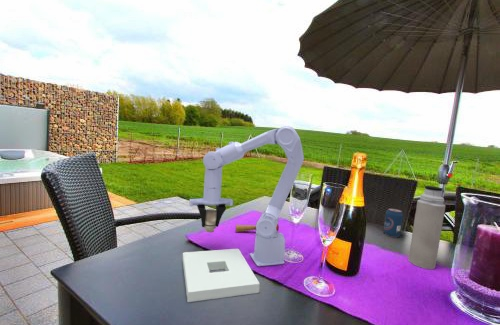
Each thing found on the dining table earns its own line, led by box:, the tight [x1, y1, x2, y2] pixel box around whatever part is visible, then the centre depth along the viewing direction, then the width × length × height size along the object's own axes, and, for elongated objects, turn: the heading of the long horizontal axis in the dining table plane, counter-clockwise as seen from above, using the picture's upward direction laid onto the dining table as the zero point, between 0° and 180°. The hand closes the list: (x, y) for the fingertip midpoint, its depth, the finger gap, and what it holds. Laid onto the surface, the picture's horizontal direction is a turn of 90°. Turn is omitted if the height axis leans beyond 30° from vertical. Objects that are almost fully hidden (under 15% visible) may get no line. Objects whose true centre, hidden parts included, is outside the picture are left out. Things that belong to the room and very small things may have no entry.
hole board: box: [182, 248, 261, 303], centre depth 70 cm, size 18×20×2 cm
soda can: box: [383, 207, 404, 238], centre depth 114 cm, size 7×7×12 cm
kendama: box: [235, 220, 279, 233], centre depth 103 cm, size 8×6×18 cm
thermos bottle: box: [408, 185, 446, 270], centre depth 87 cm, size 8×8×28 cm
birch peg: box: [203, 208, 217, 233], centre depth 84 cm, size 4×4×7 cm
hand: (210, 225), depth 84 cm, fingers closed on birch peg, 4 cm apart
